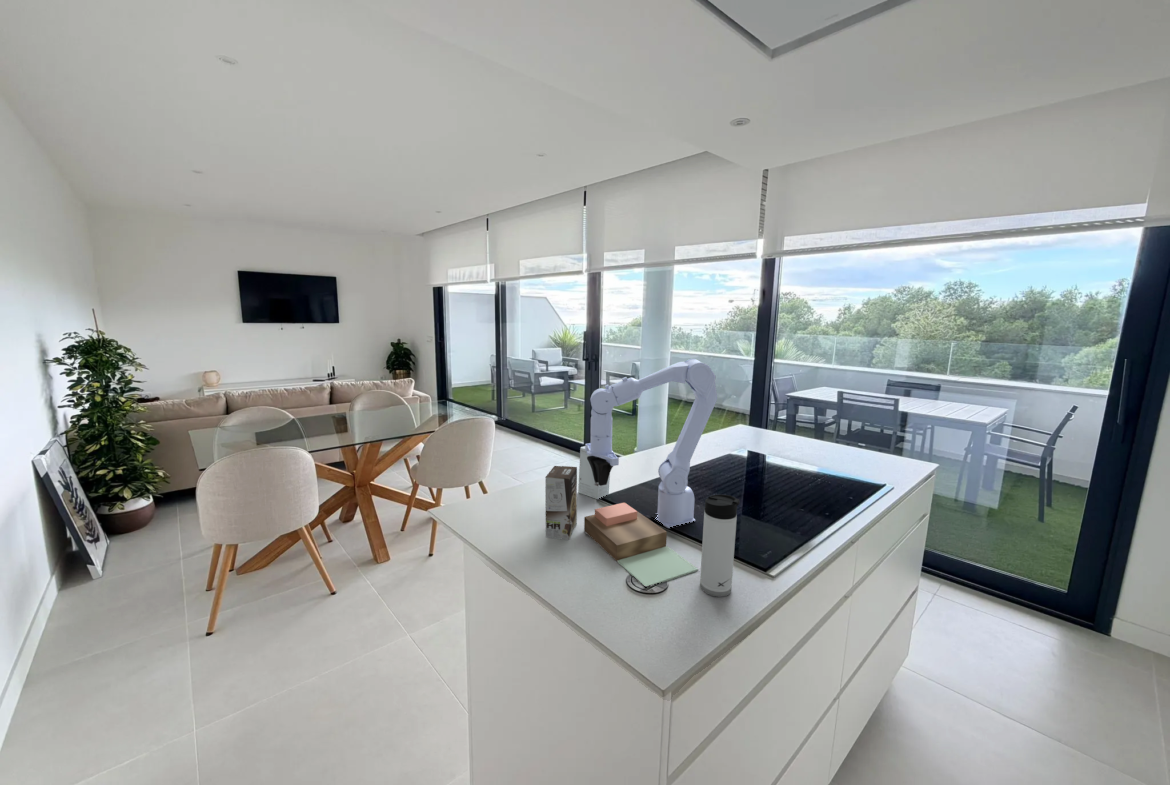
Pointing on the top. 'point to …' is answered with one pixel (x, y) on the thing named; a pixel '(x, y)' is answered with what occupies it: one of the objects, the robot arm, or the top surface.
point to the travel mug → (718, 544)
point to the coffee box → (561, 502)
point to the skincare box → (589, 479)
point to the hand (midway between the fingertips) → (600, 483)
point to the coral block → (615, 514)
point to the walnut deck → (626, 536)
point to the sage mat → (657, 566)
